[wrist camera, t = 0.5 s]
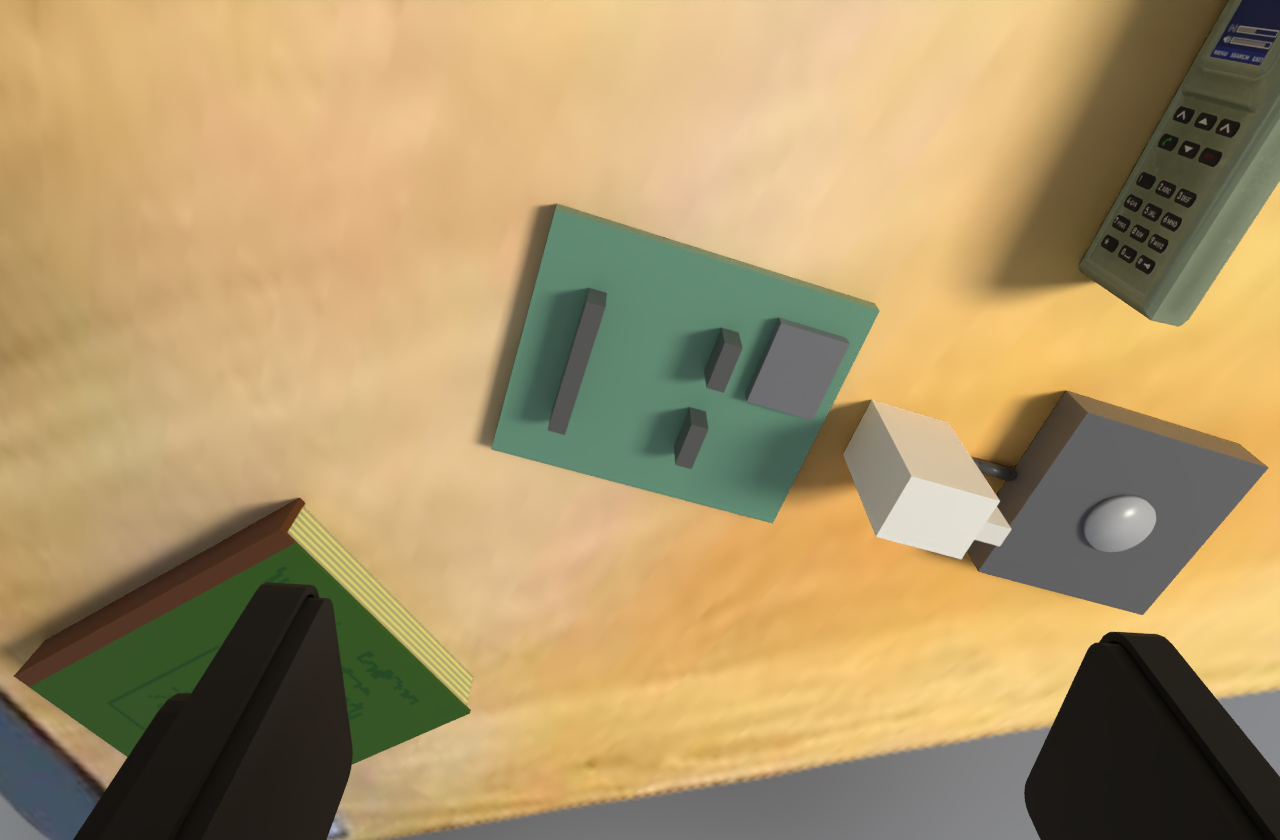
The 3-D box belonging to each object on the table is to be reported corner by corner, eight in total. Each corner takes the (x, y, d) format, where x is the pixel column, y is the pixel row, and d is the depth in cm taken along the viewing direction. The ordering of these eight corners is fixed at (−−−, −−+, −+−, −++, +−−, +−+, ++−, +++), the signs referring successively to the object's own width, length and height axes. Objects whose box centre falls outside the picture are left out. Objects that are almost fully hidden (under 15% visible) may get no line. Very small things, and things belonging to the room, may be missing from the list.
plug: (871, 399, 47) (911, 476, 40) (970, 428, 48) (1026, 508, 41) (842, 454, 49) (876, 536, 42) (938, 481, 50) (986, 566, 43)
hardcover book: (302, 492, 51) (279, 529, 48) (479, 671, 59) (469, 713, 56) (42, 639, 57) (6, 680, 54) (233, 782, 65) (212, 825, 62)
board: (557, 203, 41) (551, 220, 39) (874, 303, 44) (889, 325, 41) (494, 440, 48) (485, 467, 46) (770, 513, 51) (777, 543, 48)
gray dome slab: (1017, 375, 46) (1040, 400, 43) (1239, 443, 48) (1273, 471, 46) (919, 533, 52) (934, 563, 49) (1121, 587, 54) (1146, 619, 51)
